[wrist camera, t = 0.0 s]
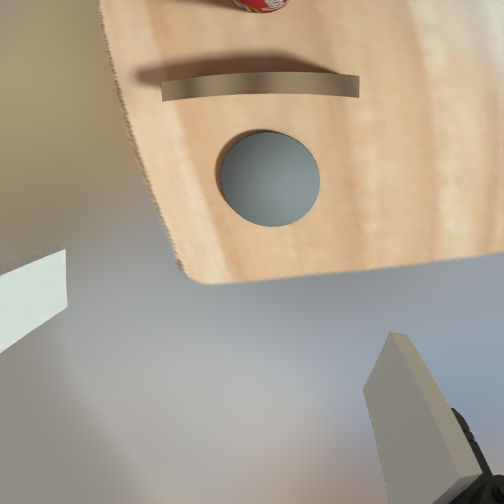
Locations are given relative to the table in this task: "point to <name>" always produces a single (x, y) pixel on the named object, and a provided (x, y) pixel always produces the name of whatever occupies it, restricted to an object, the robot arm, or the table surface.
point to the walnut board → (261, 84)
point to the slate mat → (270, 179)
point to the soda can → (261, 5)
